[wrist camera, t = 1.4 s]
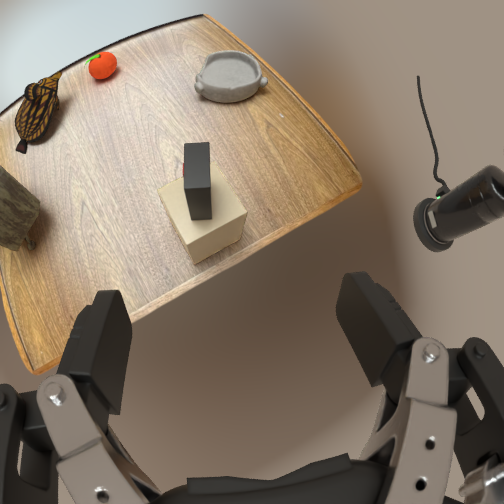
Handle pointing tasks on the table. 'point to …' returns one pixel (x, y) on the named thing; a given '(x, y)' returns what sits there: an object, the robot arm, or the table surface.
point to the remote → (197, 180)
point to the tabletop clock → (16, 212)
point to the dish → (229, 76)
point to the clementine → (102, 65)
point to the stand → (205, 231)
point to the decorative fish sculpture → (36, 110)
